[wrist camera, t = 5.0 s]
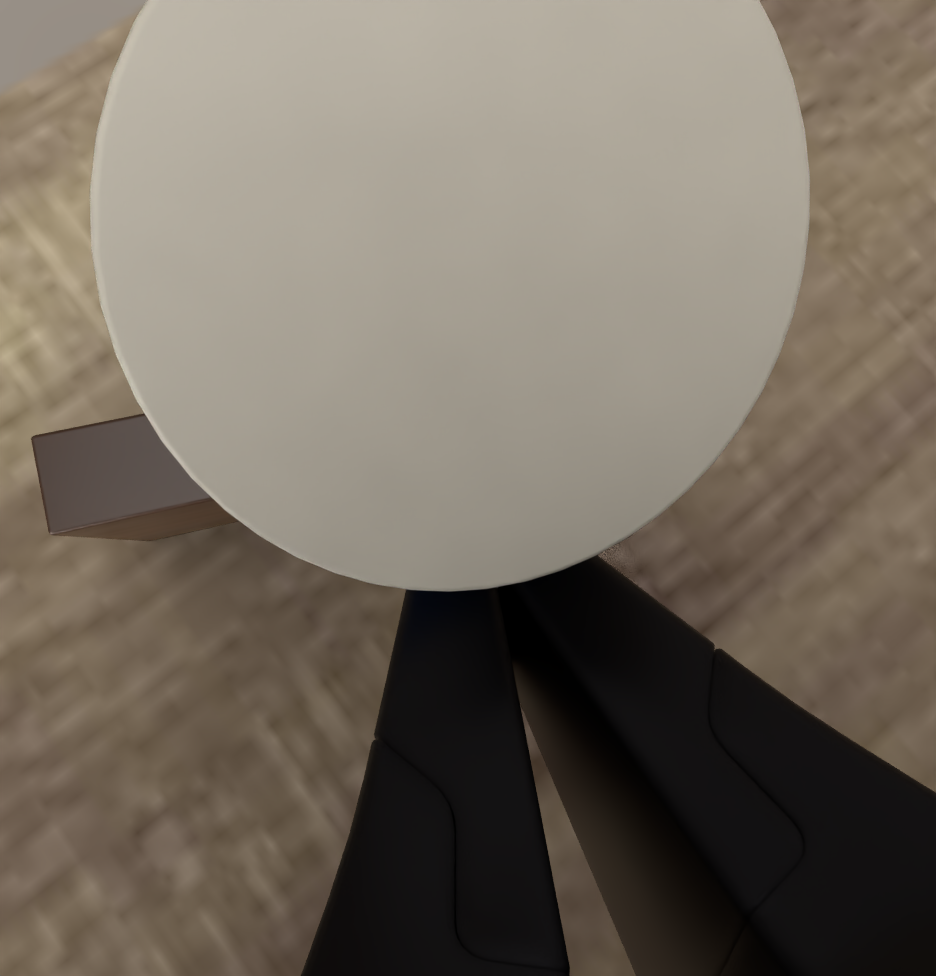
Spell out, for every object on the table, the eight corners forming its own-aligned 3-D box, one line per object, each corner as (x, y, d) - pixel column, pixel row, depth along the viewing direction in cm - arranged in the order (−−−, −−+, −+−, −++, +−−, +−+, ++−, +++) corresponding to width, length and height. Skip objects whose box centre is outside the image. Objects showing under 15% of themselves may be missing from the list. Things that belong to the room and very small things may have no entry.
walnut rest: (669, 426, 16) (765, 380, 12) (147, 542, 15) (48, 536, 11) (653, 361, 16) (742, 293, 12) (133, 469, 15) (28, 435, 11)
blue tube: (534, 540, 16) (1052, 492, 3) (342, 586, 15) (94, 733, 3) (437, 137, 16) (566, -1172, 4) (250, 167, 16) (-283, -1235, 3)
